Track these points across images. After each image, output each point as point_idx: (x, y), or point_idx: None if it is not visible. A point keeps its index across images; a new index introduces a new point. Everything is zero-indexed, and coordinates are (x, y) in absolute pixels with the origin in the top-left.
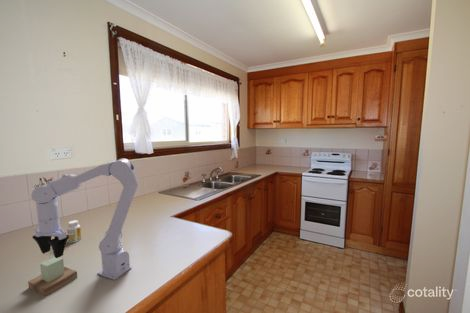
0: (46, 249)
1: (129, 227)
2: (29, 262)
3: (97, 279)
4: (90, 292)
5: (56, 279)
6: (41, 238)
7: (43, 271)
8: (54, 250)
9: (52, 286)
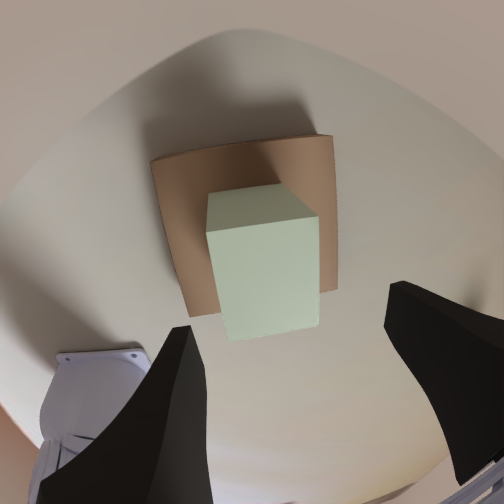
0: (400, 323)
1: (353, 457)
2: (484, 223)
3: (102, 331)
4: (38, 280)
5: (199, 230)
6: (497, 393)
7: (261, 203)
8: (132, 396)
9: (160, 196)
